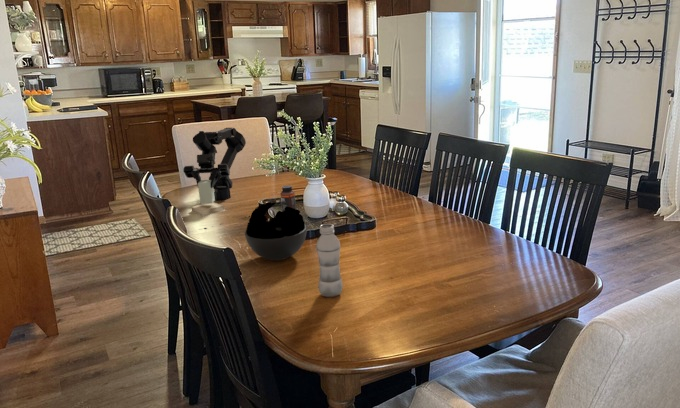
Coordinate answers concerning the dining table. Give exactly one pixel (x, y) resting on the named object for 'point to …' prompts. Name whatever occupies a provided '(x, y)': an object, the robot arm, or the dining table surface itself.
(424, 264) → the dining table surface
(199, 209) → the birch slab
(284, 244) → the bowl of black rocks
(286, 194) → the supplement bottle
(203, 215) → the base slab
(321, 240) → the plastic bottle
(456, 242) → the dining table surface
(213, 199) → the sage block
